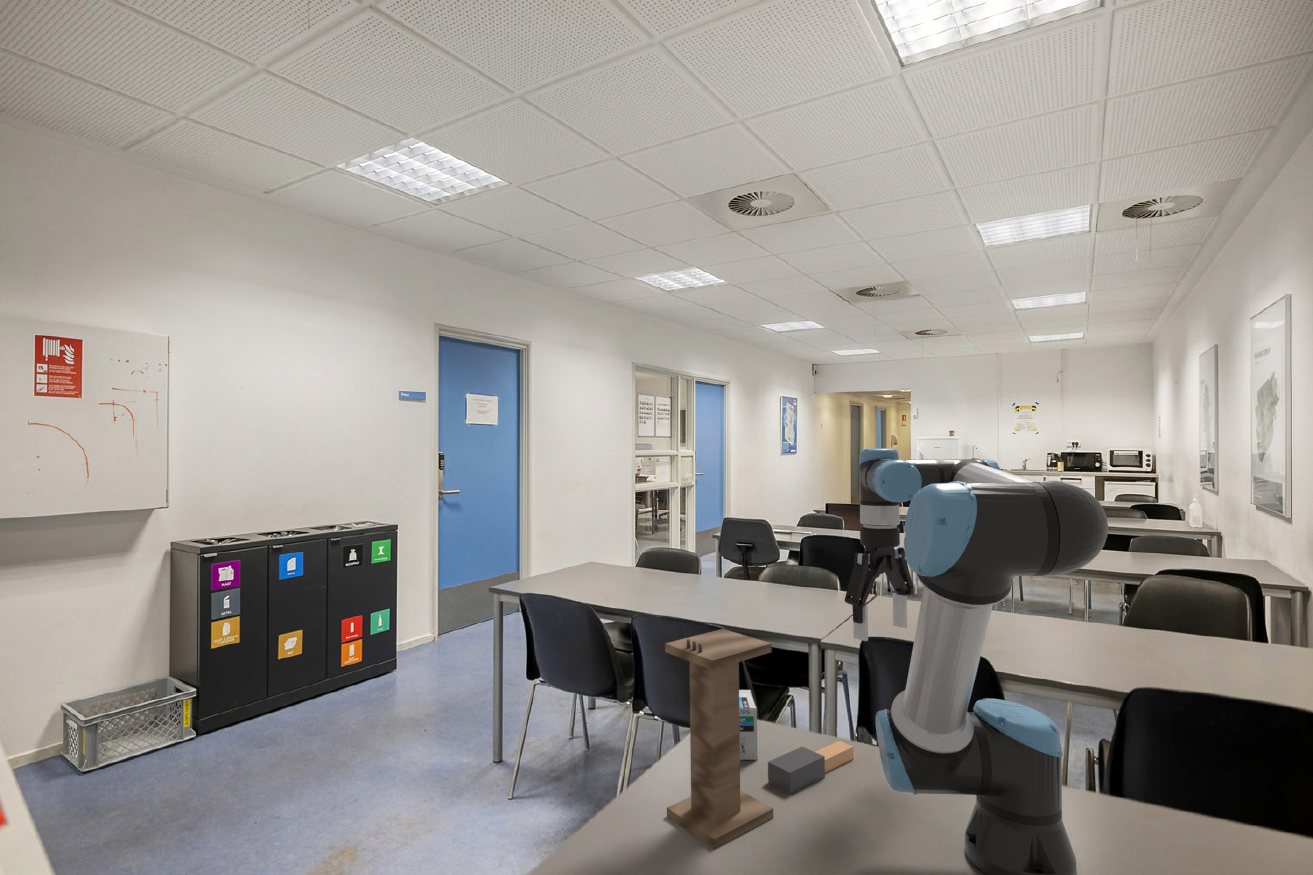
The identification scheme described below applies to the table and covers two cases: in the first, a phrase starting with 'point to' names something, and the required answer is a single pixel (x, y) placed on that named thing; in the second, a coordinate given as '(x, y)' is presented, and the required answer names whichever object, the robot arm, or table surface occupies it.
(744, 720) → the light bulb box
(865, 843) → the table surface
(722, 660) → the stand
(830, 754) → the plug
